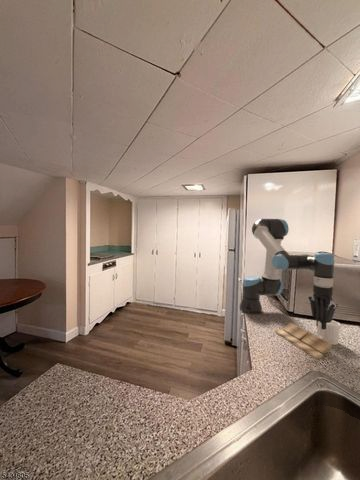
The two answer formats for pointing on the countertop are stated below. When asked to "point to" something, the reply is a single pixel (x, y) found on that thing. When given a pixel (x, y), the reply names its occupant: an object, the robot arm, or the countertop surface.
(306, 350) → the laid board
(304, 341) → the plank
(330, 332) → the white cup
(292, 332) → the plank
